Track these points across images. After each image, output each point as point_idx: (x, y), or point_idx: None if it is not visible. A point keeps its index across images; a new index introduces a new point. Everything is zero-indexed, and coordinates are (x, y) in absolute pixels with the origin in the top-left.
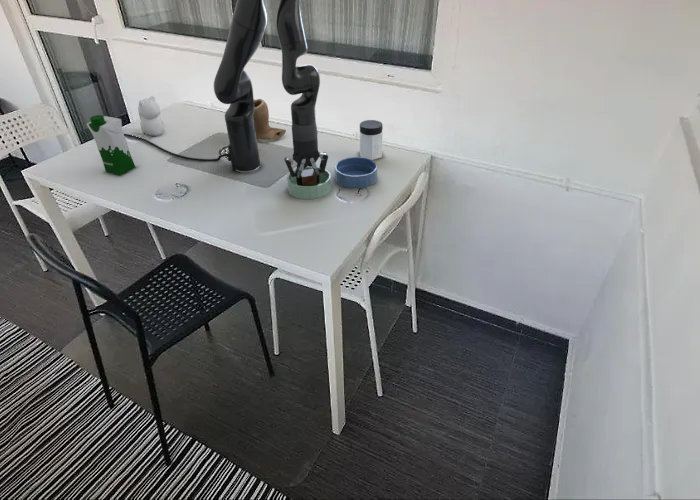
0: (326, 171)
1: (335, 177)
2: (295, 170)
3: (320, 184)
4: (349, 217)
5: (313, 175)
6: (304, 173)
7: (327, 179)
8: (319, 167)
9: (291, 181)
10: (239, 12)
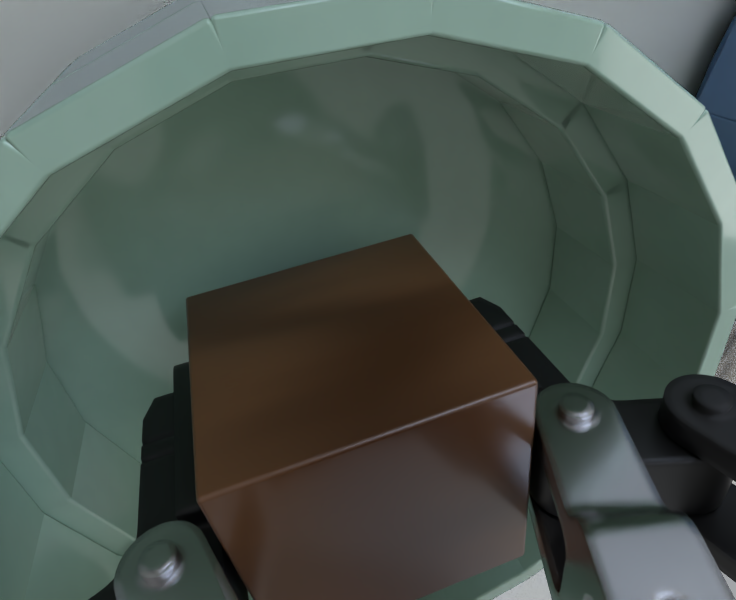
0: (712, 276)
1: (724, 137)
2: (30, 197)
3: (499, 593)
4: (540, 583)
5: (480, 572)
6: (334, 566)
7: (611, 296)
8: (682, 463)
9: (11, 339)
10: None
